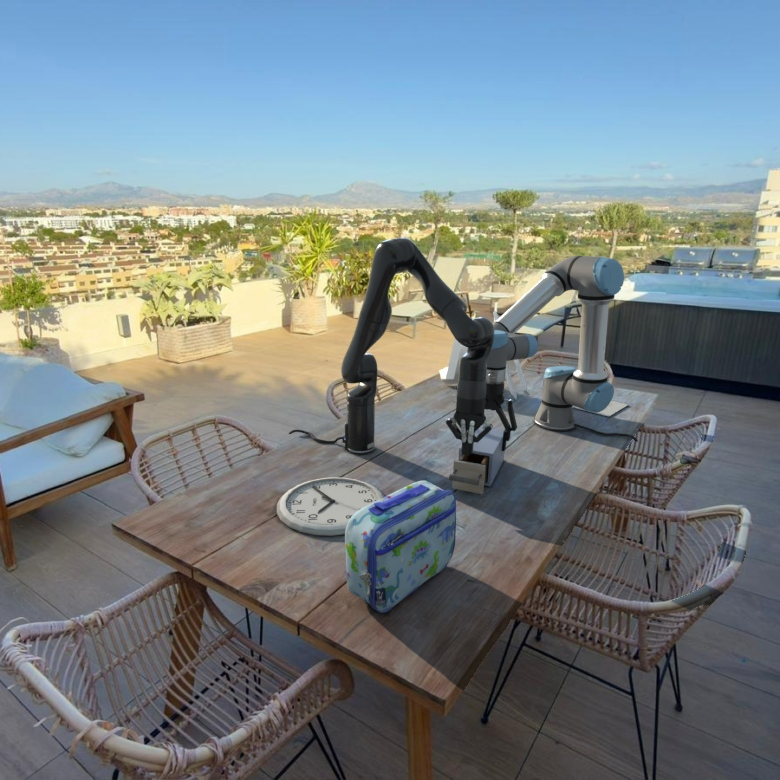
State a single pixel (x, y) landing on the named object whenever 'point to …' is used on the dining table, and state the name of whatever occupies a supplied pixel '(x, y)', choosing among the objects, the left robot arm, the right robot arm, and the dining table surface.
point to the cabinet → (489, 451)
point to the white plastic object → (452, 371)
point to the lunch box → (399, 543)
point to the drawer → (470, 473)
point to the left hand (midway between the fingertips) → (467, 454)
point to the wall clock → (325, 504)
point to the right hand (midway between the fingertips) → (487, 446)
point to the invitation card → (609, 408)
